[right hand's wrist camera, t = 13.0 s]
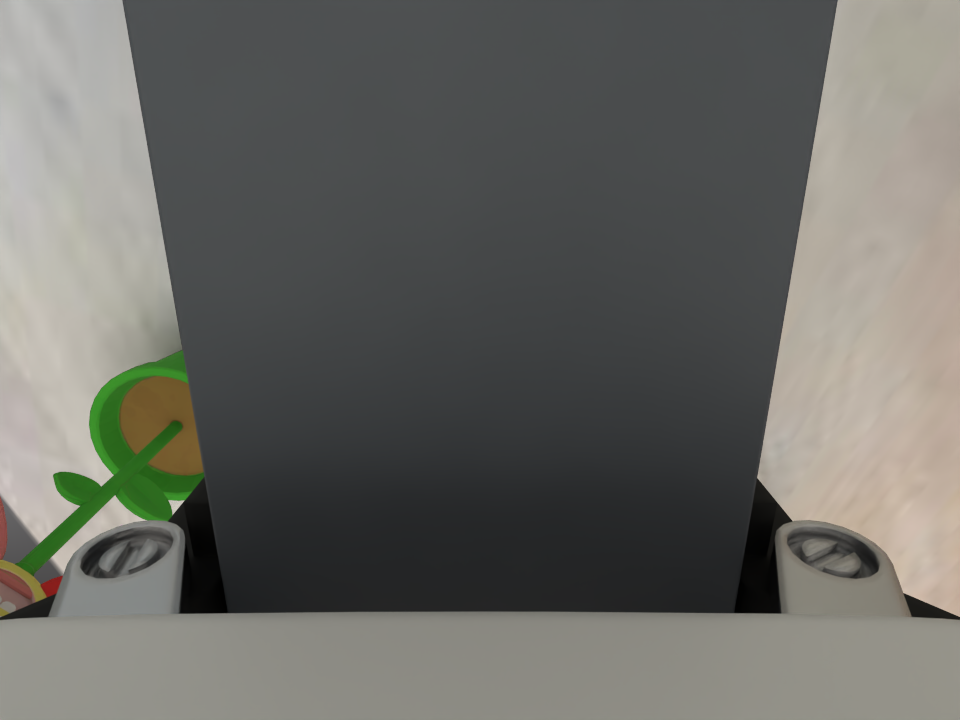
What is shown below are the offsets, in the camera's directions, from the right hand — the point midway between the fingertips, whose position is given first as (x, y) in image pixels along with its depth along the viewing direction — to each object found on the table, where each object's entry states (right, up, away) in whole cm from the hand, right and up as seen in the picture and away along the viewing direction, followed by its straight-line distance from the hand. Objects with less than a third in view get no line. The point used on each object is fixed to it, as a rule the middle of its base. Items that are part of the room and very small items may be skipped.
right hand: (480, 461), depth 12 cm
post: (0, +30, -9) cm, 31 cm away
